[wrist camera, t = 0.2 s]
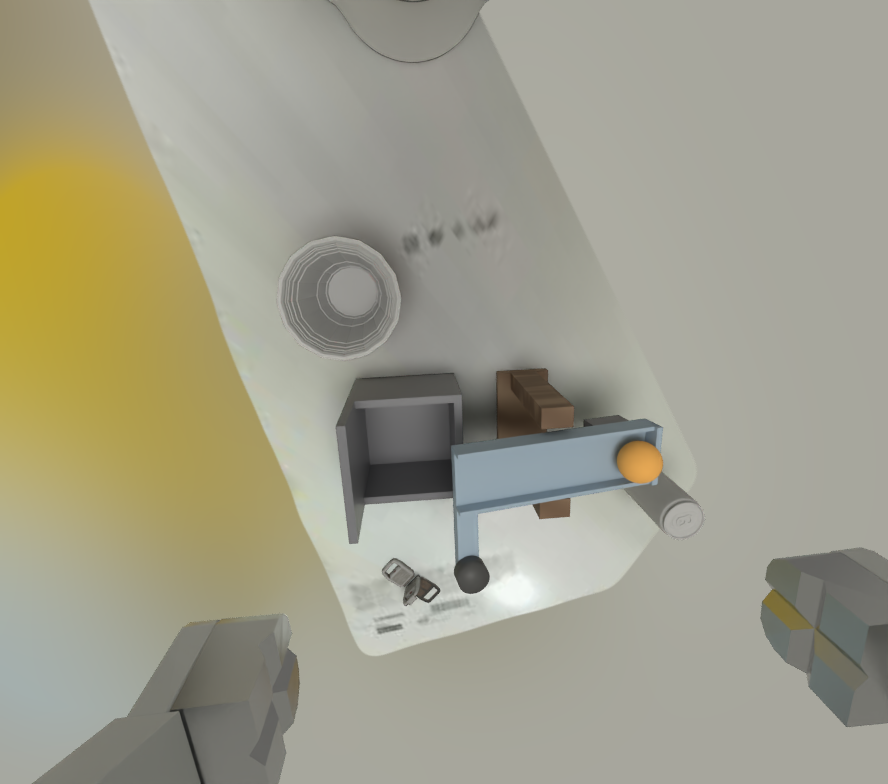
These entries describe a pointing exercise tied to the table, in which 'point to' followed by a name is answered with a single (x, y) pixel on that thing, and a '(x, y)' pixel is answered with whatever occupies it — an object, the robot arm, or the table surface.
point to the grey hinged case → (415, 588)
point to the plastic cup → (338, 298)
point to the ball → (639, 462)
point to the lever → (535, 477)
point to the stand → (532, 417)
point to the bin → (398, 441)
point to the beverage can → (669, 507)
